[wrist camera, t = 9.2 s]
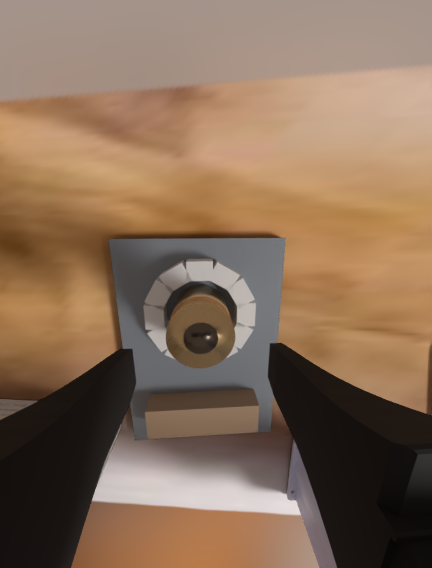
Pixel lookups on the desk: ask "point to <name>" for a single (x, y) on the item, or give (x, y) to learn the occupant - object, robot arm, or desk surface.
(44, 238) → the desk surface
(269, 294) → the jig
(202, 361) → the bushing
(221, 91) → the desk surface
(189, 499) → the desk surface
